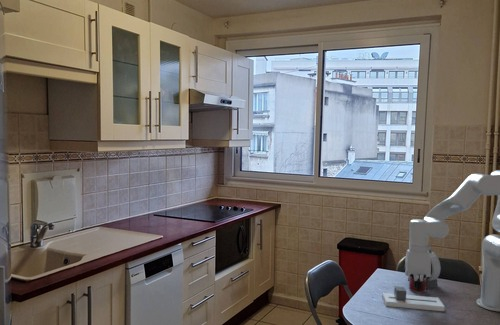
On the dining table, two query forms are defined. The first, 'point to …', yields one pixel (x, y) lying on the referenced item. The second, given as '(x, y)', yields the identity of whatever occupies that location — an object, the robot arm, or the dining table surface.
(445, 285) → the dining table surface
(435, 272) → the alarm clock
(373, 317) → the dining table surface
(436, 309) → the console
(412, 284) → the soda can
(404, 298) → the fader knob
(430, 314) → the dining table surface
